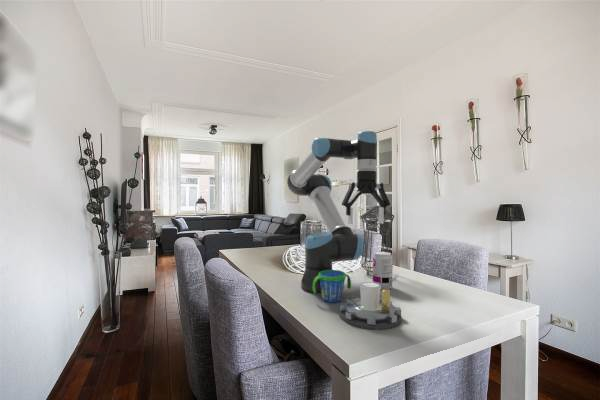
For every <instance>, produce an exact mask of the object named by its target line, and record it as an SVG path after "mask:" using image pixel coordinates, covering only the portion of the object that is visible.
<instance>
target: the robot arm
mask: <svg viewBox="0 0 600 400" xmlns="http://www.w3.org/2000/svg"><path fill="white" fill-rule="evenodd" d="M377 147H378V138H377V133H376V131H373V130H365V131H359V132H358V133H357V139H355V140H354V139H353V140H348V139H338V138H337V139H336V138H328V137H316V138H315V139H314V140H313V141H312V143H311V151H310V153H309V154H308V155H307V157H306V158H305V159H304V160H303V161H302V162H301V164H300V165H298V167H297V169H294V170H292V171H291V172H290V174H289V175H288V177H287V180H286V182H287V187H288V190H289V191H290V192H291V193H292V194H294V195H297V196H306V197H307V196H308V198H309V200H310V201H311V202H313V203H314V204H315V206H316V208H317V210H318V212H319V214H320V217H321V218H322V219H321V220H322V221H323V223H324V225H325V227H326V230H327V231H318V232H314V233H310V234H309V235H307V236H306V237H305V245H304V249H305V254H304V256H305V258H304V259H305V260H304V261H305V263H304V264H305V265H304V268H305V269H304V272H303V276H302V278H301V281H300V288H301V289H302V290H304V291H306V292H310V293H314V292H313V289H312V286H313V281H314V279H315V277H316V276H318V274H319V272H321V271H324V270H333V263H336V262H346V261H347V262H352V261H354V260H359V259H360V258H361V257H362V253H363V242H364V239H363V237H362V235H361V234H359V233H354V232H353V230H352V229H351V227H350V226H347V225H346V224H345V222H344V220H343V218H342V216H341V215H340V212H339V211H338V208H337V207H336V205H335V203H334V201H333V199H332V196H331V193H332V189H333V188H332V187H333V186H332V181H331V179H330V177H328V176H327V175H326V174H320V173H317V174H315V173H316V172H317V171H318V170H319V169H320V168H321V167H322V166H324V164H325V163H326V162H327V161H328V160H329V159H330V158H339V159H344V160H353V159H357V160H356V161H357V163H356V167H357V168H356V169H357V170H358V171H357V172H356V183H355V182H349V186H348V190H347V192H346V194H345V196H344V197H343V200H342V202H341V205H342V206H344V207H345V208H346V209H345V214H346V216H347V224H349V225H353V224H354V223H353V222H354V221H353V219H354V218H353V215H354V214H353V213H354V210H353V209H354V208H353V207H352V206H353V205H354V203H355V202H356V201H357V200H358V198H359V197H361V195H371V196H373V198H374V199H375V201H376V202H377V203H378V206H380V207H379V217H378V219H379V220H378V221H379V222H378V223H380V224H384V223H385V221H384V218H385V217H384V216H385V211H387V210H386V208H387V207H388V206H391V202H390V201H389V198H388V196H387V193H386V191H385V188H384V183H383V182H378V183H377V172H376V170H377V159H378V158H377V154H378V153H377V152H378V150H377V149H378V148H377ZM356 188H357V190H356V191H355V189H356ZM376 188H377V190H376ZM354 191H355V192H354ZM353 193H354V194H353ZM352 194H353V195H352ZM351 196H352V197H351ZM384 225H385V224H384ZM315 288H316V293H321V286H320V280H319V279H318V280H317V282H316V283H315ZM321 294H322V293H321Z"/></svg>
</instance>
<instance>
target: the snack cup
mask: <svg viewBox="0 0 600 400" xmlns="http://www.w3.org/2000/svg"><path fill="white" fill-rule="evenodd" d="M346 278H347V282H346V283H347V284H346V288H347V289H348V290H351V288H352V280H351V277H350V275H349V274H347V273H346V272H344V271H342V270H337V269H332V270H324V271H321V272H319V274H318V276H316V277H315V279H314V281H313V286H312V289H313V292H312V293H314V294H316V293H317V292H316V288H315V283H316V282H317V280H318V279H319V280H320V286H321V298H322V300H323V301H325V302H328V303H337V302H341V301H342V299H343V295H344V289H345V281H346Z"/></svg>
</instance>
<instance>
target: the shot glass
mask: <svg viewBox="0 0 600 400" xmlns="http://www.w3.org/2000/svg"><path fill="white" fill-rule="evenodd" d="M381 291H382V290H381V285H380V284H378V283H374V282H373V281H364V282H360V283H359V293H360V298H361V305H362V306H363V307H365V308H369V309H375V308H378V307H379V300H381V299H380V296H381Z"/></svg>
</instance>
